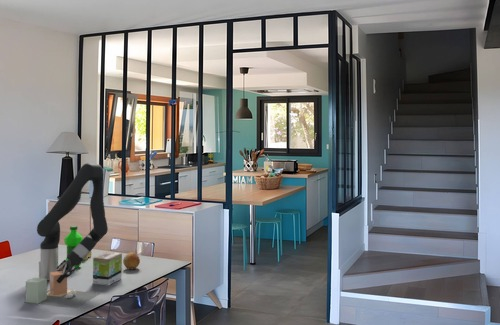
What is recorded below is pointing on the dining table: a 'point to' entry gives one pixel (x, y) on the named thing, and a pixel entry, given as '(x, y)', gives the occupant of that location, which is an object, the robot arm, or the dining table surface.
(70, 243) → the plastic bottle
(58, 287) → the orange block
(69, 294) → the marble
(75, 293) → the marble
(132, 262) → the onion
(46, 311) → the dining table surface
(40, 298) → the grey-green block
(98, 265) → the tea box
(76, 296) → the mat
